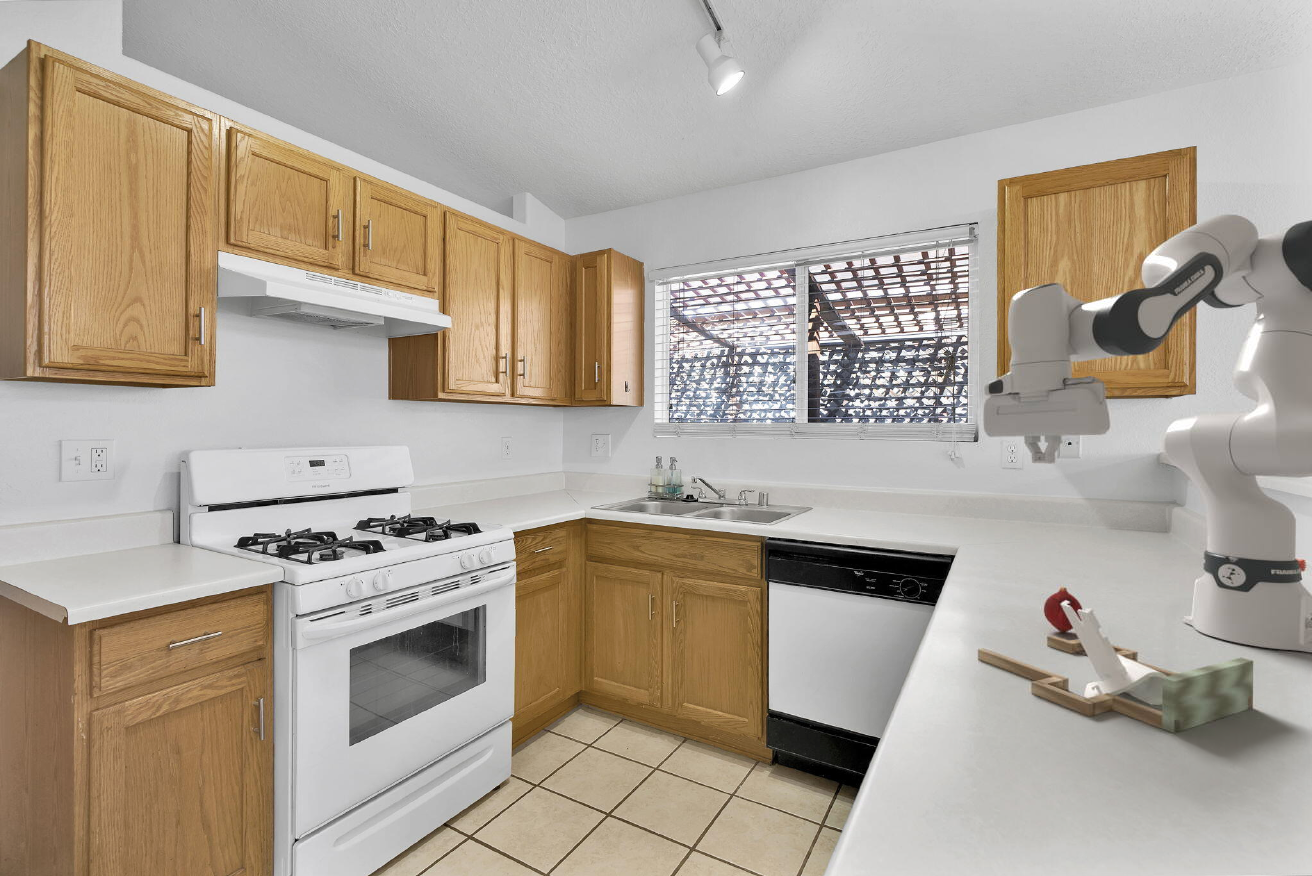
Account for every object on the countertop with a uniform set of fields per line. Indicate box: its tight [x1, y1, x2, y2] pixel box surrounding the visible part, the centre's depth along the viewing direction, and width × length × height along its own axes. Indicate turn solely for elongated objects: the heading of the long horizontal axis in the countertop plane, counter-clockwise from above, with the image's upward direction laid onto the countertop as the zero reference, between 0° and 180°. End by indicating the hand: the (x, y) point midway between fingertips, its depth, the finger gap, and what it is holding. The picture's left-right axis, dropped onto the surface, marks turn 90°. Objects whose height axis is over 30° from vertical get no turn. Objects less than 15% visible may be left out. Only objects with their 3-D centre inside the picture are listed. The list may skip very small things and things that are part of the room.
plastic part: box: [1061, 600, 1167, 706], centre depth 83 cm, size 8×10×12 cm
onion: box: [1043, 586, 1083, 633], centre depth 109 cm, size 6×6×8 cm
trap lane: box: [977, 635, 1254, 734], centre depth 87 cm, size 27×26×6 cm
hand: (1043, 463), depth 104 cm, fingers closed
